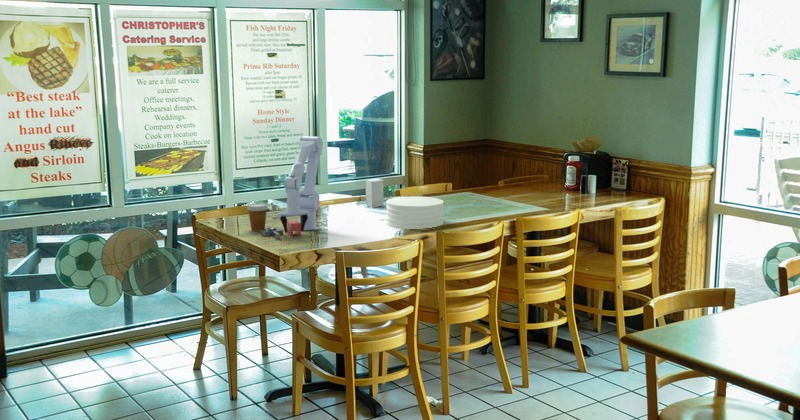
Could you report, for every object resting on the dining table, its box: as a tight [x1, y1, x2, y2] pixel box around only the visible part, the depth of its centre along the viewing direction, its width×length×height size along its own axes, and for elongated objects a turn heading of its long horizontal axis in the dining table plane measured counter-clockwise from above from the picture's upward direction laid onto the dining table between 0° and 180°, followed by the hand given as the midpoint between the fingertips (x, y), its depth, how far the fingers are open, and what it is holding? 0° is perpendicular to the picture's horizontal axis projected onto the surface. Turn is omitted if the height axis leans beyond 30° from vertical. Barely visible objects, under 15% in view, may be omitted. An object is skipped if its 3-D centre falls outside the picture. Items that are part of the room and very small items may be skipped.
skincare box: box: [365, 178, 385, 208], centre depth 458 cm, size 8×6×15 cm
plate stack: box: [385, 195, 444, 230], centre depth 413 cm, size 28×28×12 cm
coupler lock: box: [286, 220, 302, 238], centre depth 387 cm, size 7×5×6 cm, turn 22°
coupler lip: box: [260, 226, 284, 240], centre depth 385 cm, size 15×9×3 cm, turn 22°
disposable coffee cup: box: [246, 202, 268, 232], centre depth 397 cm, size 10×10×12 cm
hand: (294, 231), depth 387 cm, fingers open, 7 cm apart
